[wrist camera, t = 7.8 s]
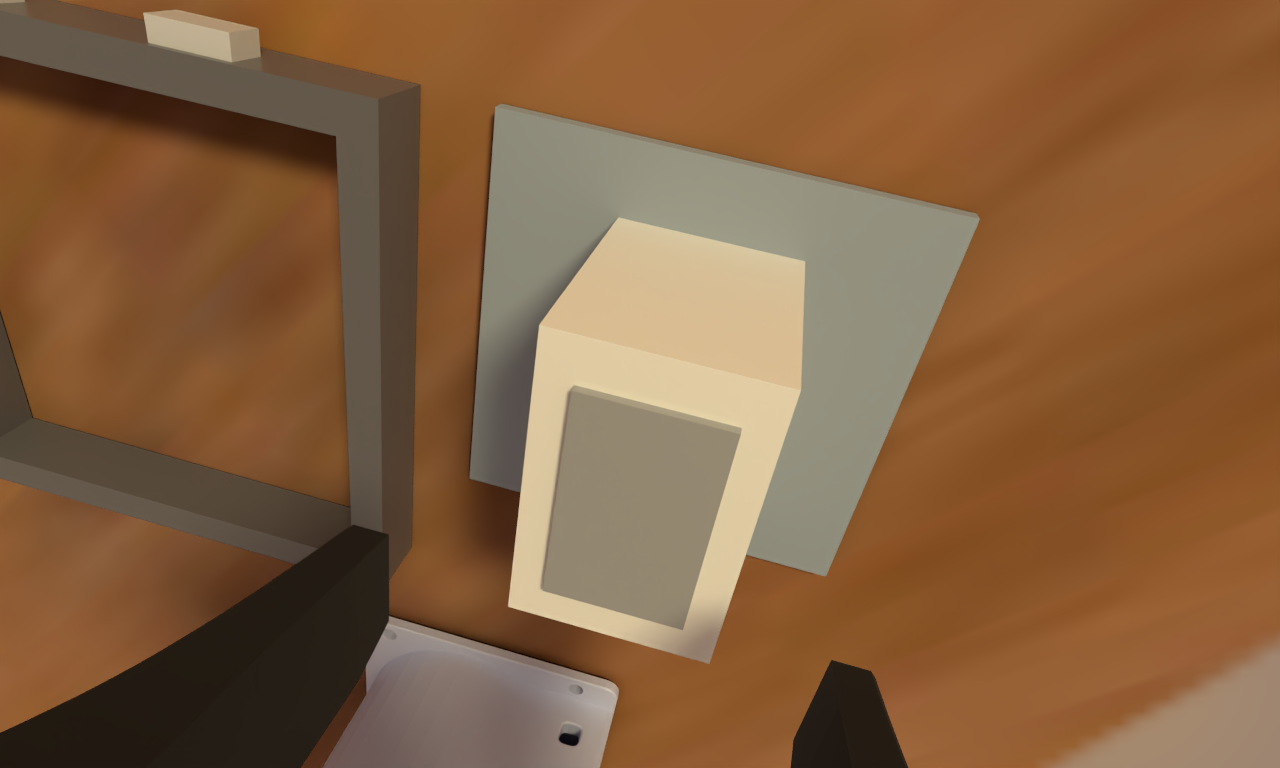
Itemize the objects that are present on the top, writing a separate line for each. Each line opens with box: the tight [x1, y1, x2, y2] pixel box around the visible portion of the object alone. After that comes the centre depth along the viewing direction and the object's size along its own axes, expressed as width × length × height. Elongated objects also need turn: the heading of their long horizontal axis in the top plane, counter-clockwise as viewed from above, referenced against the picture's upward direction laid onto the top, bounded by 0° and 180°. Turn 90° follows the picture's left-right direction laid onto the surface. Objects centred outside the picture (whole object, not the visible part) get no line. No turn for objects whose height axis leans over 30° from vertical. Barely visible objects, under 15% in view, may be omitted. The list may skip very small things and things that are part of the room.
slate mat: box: [469, 104, 980, 577], centre depth 20 cm, size 11×11×1 cm
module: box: [508, 217, 805, 664], centre depth 17 cm, size 4×7×6 cm, turn 170°
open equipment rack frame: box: [0, 0, 420, 580], centre depth 21 cm, size 15×16×2 cm
